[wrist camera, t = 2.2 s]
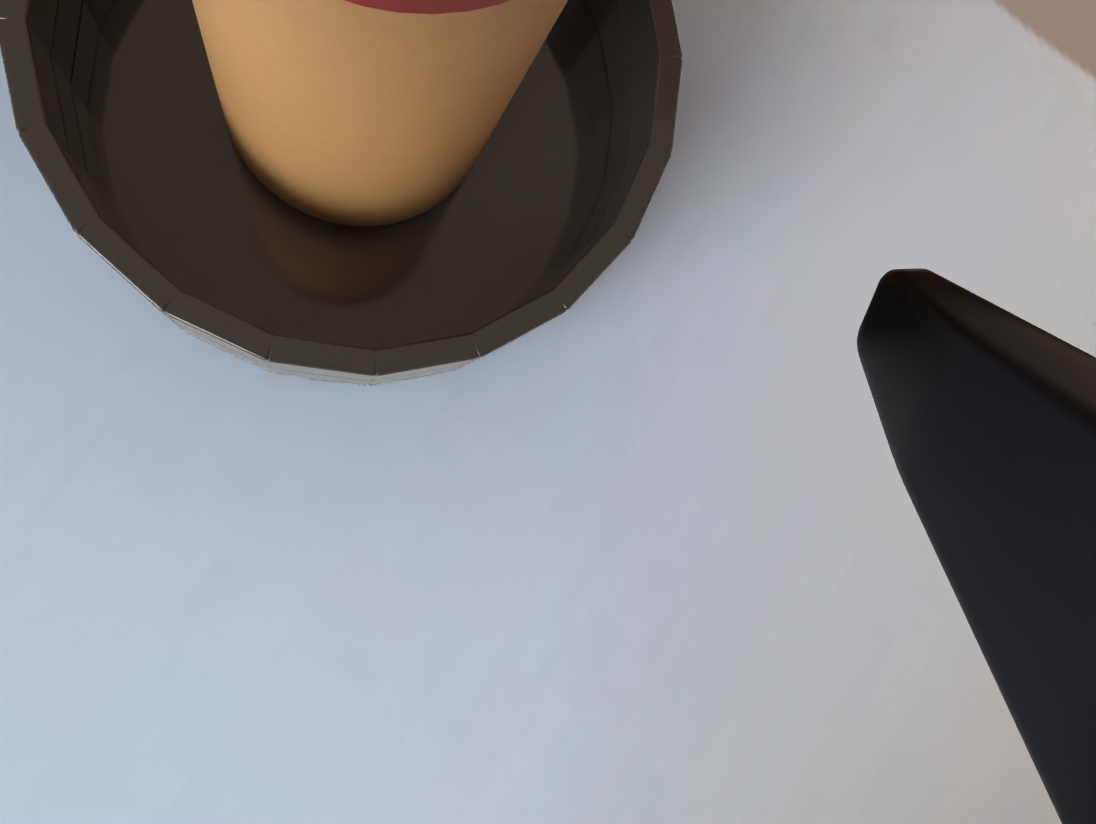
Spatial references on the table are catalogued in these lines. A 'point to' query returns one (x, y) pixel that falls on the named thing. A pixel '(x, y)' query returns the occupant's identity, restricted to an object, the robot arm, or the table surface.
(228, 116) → the cracker tube
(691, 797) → the table surface
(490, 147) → the pan
